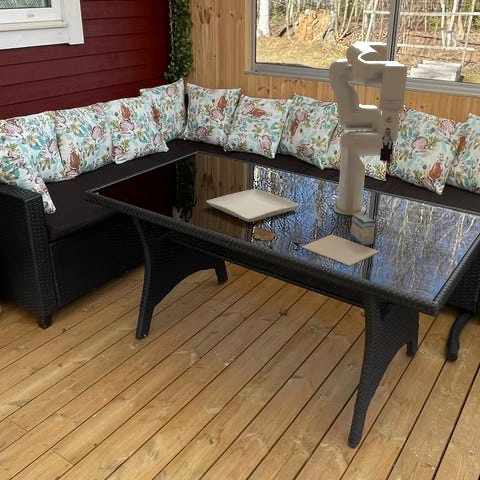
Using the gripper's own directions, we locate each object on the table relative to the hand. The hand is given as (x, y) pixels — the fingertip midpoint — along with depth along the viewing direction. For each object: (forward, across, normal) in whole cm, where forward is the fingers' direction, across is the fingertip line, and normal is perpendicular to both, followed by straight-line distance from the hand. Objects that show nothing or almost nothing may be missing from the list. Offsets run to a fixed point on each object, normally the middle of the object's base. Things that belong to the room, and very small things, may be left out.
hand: (386, 157), depth 182 cm
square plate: (+30, +15, +51) cm, 61 cm away
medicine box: (+29, -4, +5) cm, 30 cm away
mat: (+29, -14, +11) cm, 34 cm away
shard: (+30, -10, +40) cm, 51 cm away
